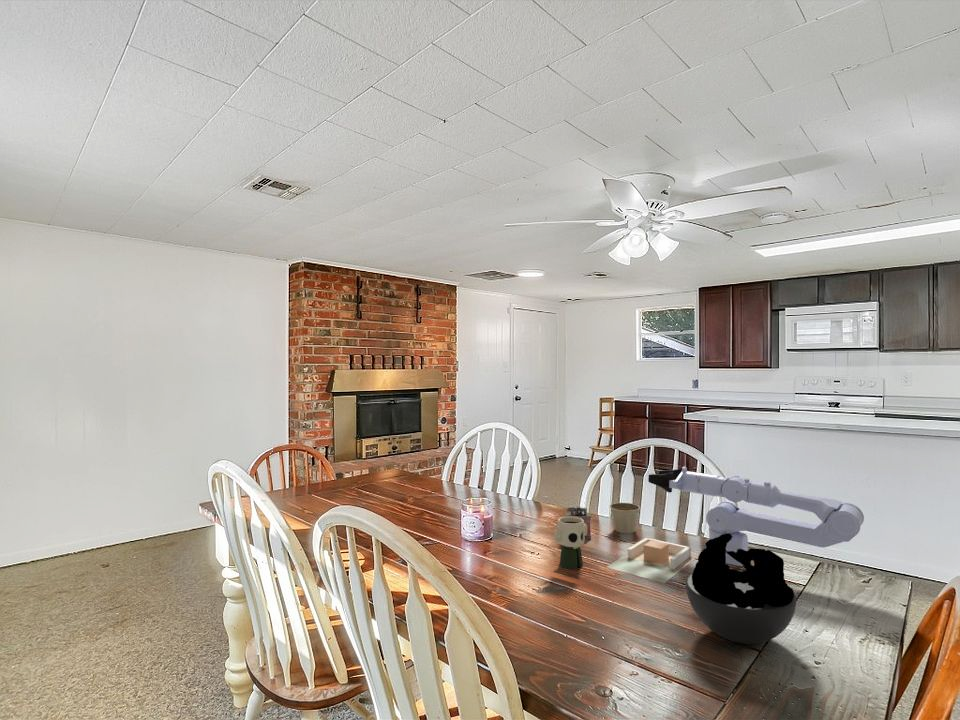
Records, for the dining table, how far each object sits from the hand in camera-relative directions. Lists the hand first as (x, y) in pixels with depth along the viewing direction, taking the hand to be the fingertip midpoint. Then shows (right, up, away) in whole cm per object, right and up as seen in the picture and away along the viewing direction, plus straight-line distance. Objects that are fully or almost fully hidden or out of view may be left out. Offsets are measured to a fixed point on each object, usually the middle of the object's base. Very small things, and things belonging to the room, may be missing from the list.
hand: (654, 476), depth 161 cm
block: (-3, -20, -12) cm, 24 cm away
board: (-5, -21, -15) cm, 26 cm away
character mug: (-27, -22, -15) cm, 38 cm away
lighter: (-21, -22, +8) cm, 31 cm away
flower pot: (-5, -21, +13) cm, 26 cm away
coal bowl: (0, -21, -52) cm, 57 cm away
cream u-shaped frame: (-2, -20, -11) cm, 23 cm away
